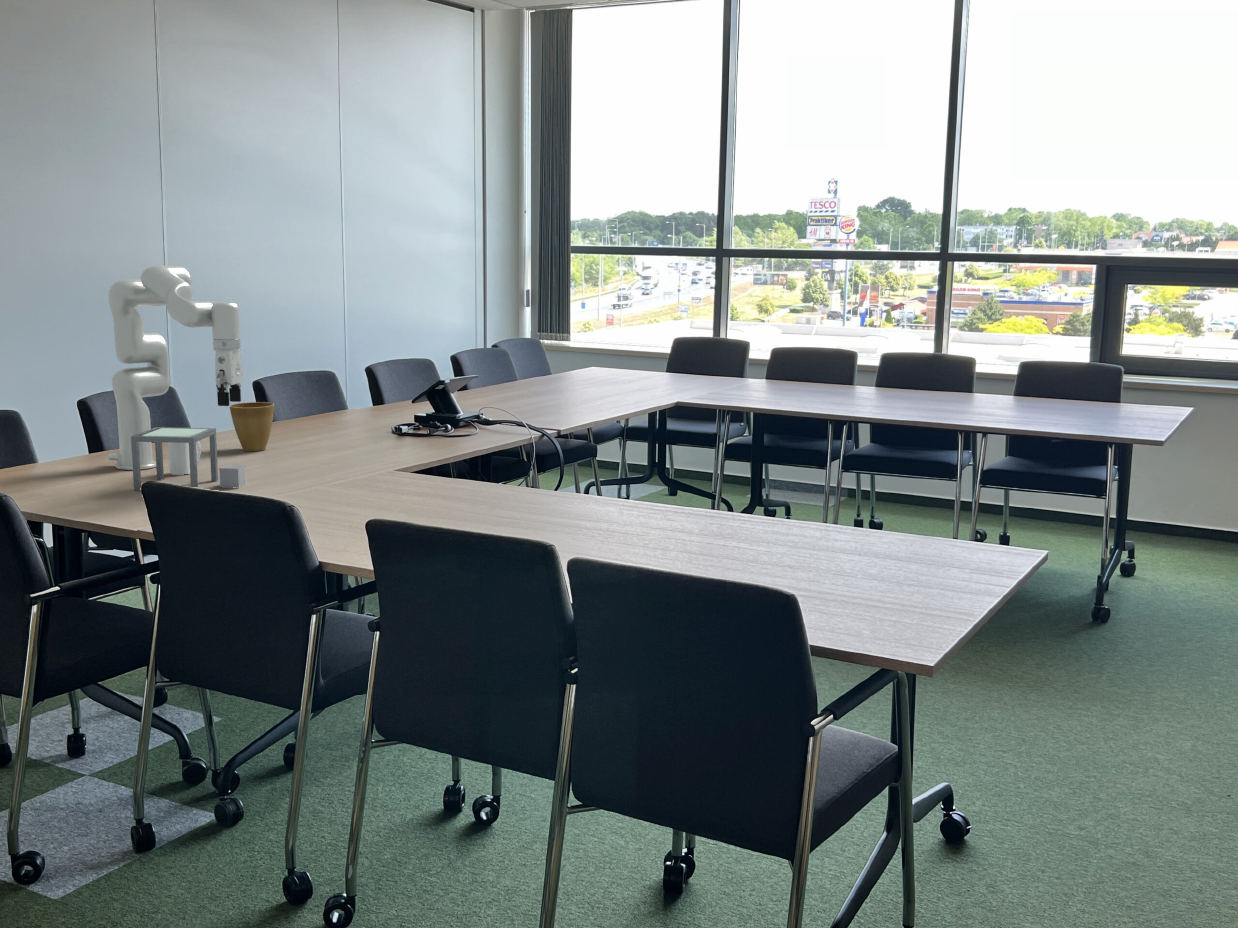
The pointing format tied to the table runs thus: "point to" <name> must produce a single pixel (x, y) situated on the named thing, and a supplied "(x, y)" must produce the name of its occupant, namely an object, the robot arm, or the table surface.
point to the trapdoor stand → (159, 439)
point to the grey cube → (232, 476)
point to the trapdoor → (175, 432)
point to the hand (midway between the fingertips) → (229, 403)
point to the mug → (180, 457)
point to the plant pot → (252, 424)
